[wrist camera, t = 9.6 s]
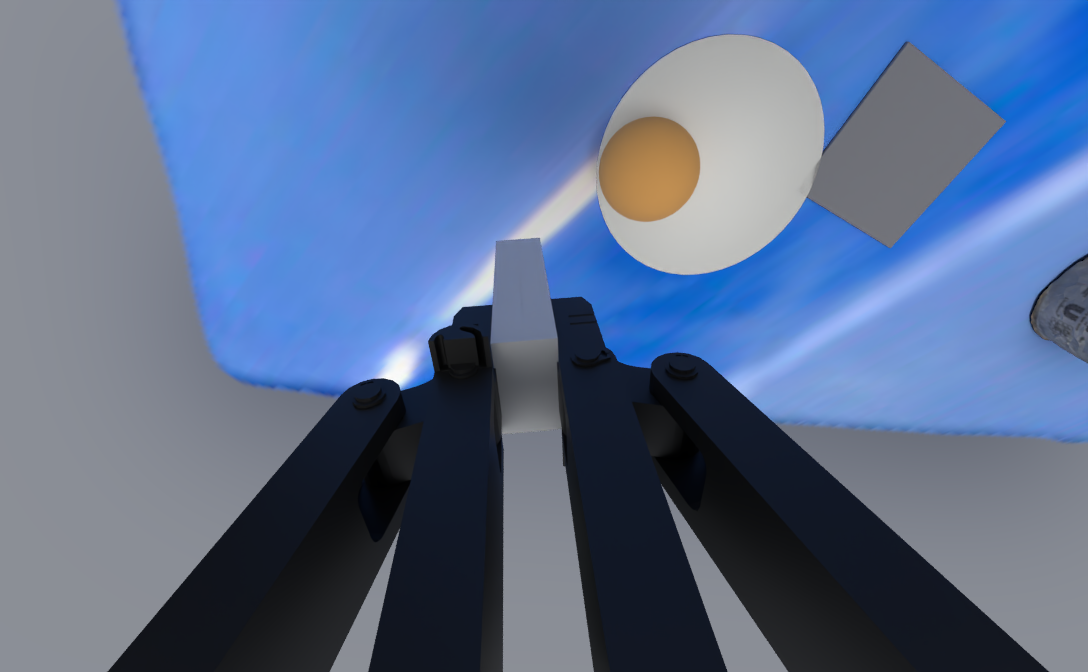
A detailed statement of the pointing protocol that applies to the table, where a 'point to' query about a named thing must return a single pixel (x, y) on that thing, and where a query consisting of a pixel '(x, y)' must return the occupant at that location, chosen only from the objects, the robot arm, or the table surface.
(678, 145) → the ball
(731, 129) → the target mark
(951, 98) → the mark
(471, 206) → the table surface
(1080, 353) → the spray can
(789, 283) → the table surface
